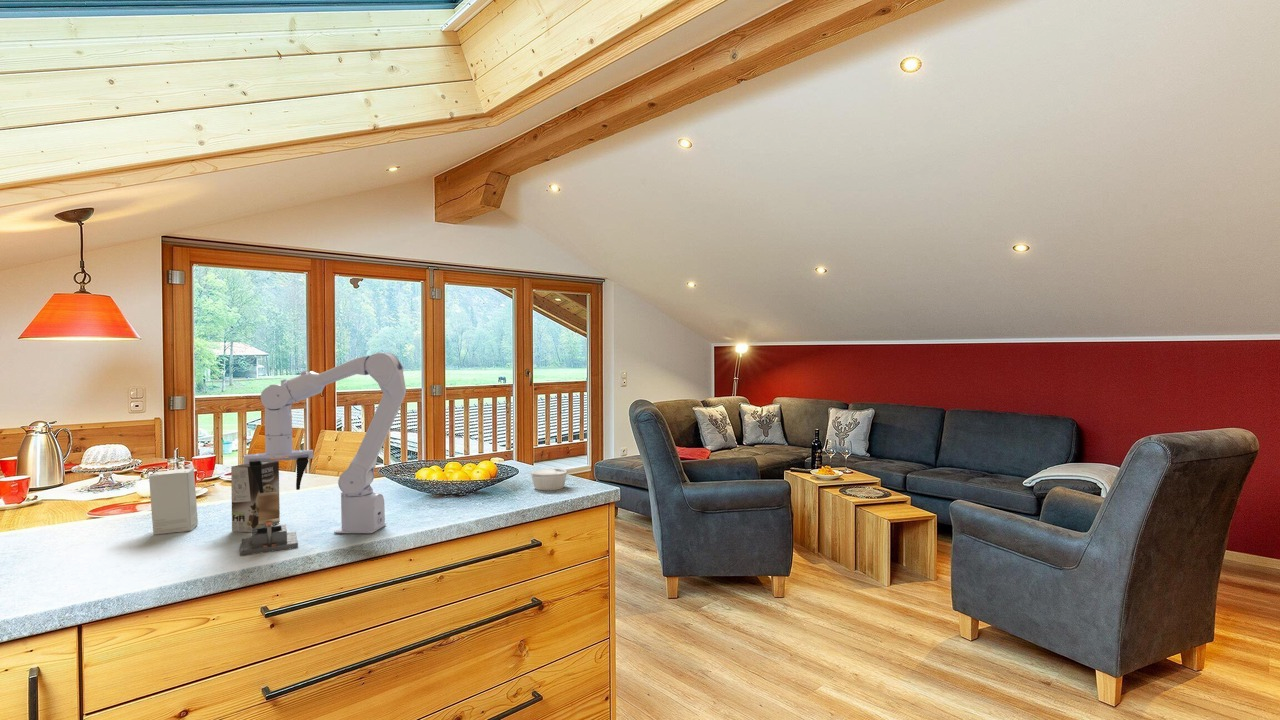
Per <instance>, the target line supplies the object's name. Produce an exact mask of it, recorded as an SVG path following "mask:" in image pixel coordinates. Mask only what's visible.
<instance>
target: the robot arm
mask: <svg viewBox="0 0 1280 720" xmlns="http://www.w3.org/2000/svg"><path fill="white" fill-rule="evenodd" d="M355 375H360V376H367V375H369V376H370V377H371V378H372V380H374V381H375V382H376V383H377V384H378V387H379V389H380V390H381V392H382V397H381V399H380V401H379V404H378V405H377V408H376V410H375V412H374V414H373V416H372V419H371V421H370V423H369V425H368V428H367V430H366V432H365V434H364V436H363V439H362V441H361V443H360V446H359V448H358V450H357V452H356V454H355V455H354V457H353V458H352V460H351V462H350V463H349V465H348V467H347V468H346V469H345V470H344V471H343V472H342V473H340V475H339V477H338V481H337V484H338V488H339V490H340V491H341V492H340V499H341V500H340V509H341V511H340V513H341V519H340V521H341V527H340V528H337V529H336V530H334V532H333V534H373V533H375V532H377V531H379V530H380V529H382V528H384V527H385V526H387V523H386V522H385V521H386V519H385V518H386V517H385V512H386V510H385V508H386V507H385V497H384V495H383V494H382V493H376V492H374V488H373V487H372V486H371V484H372V482H374V479H375V467H376V466H377V462H378V457H379V454H381V453H380V452H381V451H382V448H383V446H384V443H385V442H386V439H387V437H388V435H389V432H390V430H391V429H392V426H393V423H394V422H395V419H396V417H397V415H398V412H399V410H400V408H401V406H402V404H403V402H404V400H405V396H406V393H407V388H406V387H407V386H406V382H405V375H404V366H403V364H402V362H400V360H399V358H398V356H397V355H395V354H394V353H390V352H375V353H372V354H371V355H365V356H361V357H356V358H354V359H351V360H349V361H346V362H344V363H341V364H340V365H336V366H334V367H331V368H330V369H328V370H325V371H323V372H320V373H318V372H315V371H313V370H310V371H308V370H303V371H301V372H300V375H297V376H295V377H292V378H290V379H282V380H280V384H270V385H269V386H267V387H265V388H264V389H263V390H262V391H261V394H260V402H261V404H262V406H264V441H265V442H264V445H265V452H262V453H261V452H260V453H259V452H258V453H252V454H244V455H243V464H249V467H250V469H251V471H252V472H253V474H254V476H255V478H256V481H257V483H258V486H259V491H260V493H263V483H262V462H271V461H279V462H280V461H291V460H292V461H293V460H295V463H296V482H295V483H296V484H295V488H296V491H298V490H299V491H300V489H301V484H302V483H301V482H302V478H303V476H304V474H305V470H306V468H307V466H308V464H309V460H310V459H314V450H313V449H304V450H303V449H299V450H298V449H297V450H294V449H293V414H292V405H293V404H294V403H299V402H301V401H303V400H306V399H309V398H311V397H315V396H316V395H319V394H321V393H323V390H324V389H325V387H326V386H327V385H330V384H333V383H335V382H337V381H340V380H341V381H342V380H344V379H346V378H349V377H352V376H355Z"/></svg>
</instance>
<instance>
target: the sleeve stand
mask: <svg viewBox="0 0 1280 720" xmlns="http://www.w3.org/2000/svg"><path fill="white" fill-rule="evenodd" d="M271 525H272V521H266V526H267V527H261V528H253V529H252V532H251V537H244V538H241V543H240V549H239V550H240V551H239V552H240V553H239V554H240V555H239V556H241V555H242V556H248V555H247V554H249V555H254V554H253V553H256V554H261V553H260V552H263V553H267V552H268V551H270V552H275V550H277V551H281V549H284V550H290V549H289V548H291V549H296V547H298V548H299V541H298V540H299V539H298V535H297V531H290V532H288V529H287V524H280V525H279V524H276V525H273V526H271Z"/></svg>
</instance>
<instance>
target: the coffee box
mask: <svg viewBox="0 0 1280 720" xmlns="http://www.w3.org/2000/svg"><path fill="white" fill-rule="evenodd" d="M230 471H231V481H230V483H231V532H237V533H239V532H240V533H241V532H242V533H252V529H253V528H261V527H267V526H266V524H259V508H258V493H260V491H259V486H258V483H257V481H256V478H255V476H254V474H253V472H252V471H251V469H250V467H249V464H244V463H242V464H238V465H233V466H231V470H230ZM262 483H263V493H267V492H276V491H279V492H280V461H271V462H262ZM280 506H281V505H279V517H280V518H281V514H280V513H281V512H280V511H281V510H280ZM279 522H280V523H281V520H280V521H279ZM279 522H274V523H272V525H273V526H275V525H274V524H276V525H278V524H277V523H279ZM280 523H279V524H280Z"/></svg>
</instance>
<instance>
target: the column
mask: <svg viewBox="0 0 1280 720" xmlns="http://www.w3.org/2000/svg"><path fill="white" fill-rule="evenodd" d="M279 506H280V490H279V491H276V492H267V493H258V508H259V524H266V521H272V523H274V522H279V521H280V522H281V520H280V518H281V516H280V517H279Z"/></svg>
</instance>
